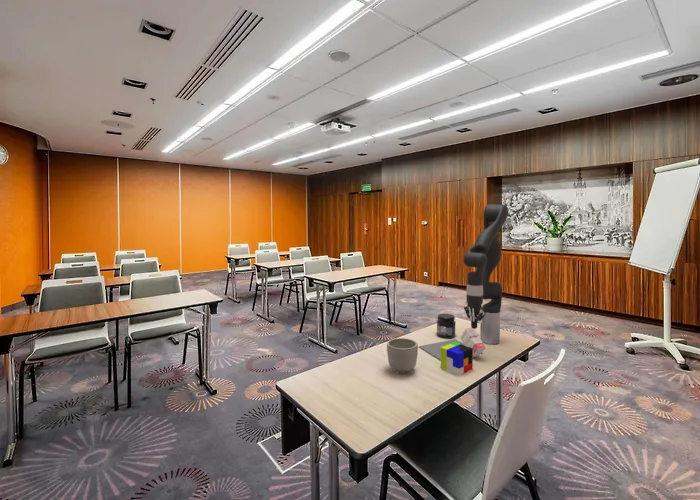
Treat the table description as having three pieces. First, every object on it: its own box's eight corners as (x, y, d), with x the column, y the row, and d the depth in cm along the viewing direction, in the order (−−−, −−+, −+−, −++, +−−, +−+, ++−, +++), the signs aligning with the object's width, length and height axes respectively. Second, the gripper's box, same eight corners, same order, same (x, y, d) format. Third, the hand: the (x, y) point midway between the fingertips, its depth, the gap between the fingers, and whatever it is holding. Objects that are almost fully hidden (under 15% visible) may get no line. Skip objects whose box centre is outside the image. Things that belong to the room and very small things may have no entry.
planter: (381, 367, 160) (381, 340, 159) (406, 361, 166) (406, 335, 165) (397, 380, 148) (397, 351, 146) (424, 373, 153) (424, 345, 152)
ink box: (486, 347, 164) (474, 326, 172) (477, 348, 163) (465, 327, 171) (478, 357, 170) (467, 336, 178) (470, 358, 168) (459, 337, 177)
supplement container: (451, 332, 205) (451, 312, 204) (458, 338, 195) (458, 318, 194) (434, 333, 205) (434, 313, 203) (440, 339, 194) (440, 318, 193)
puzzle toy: (458, 376, 151) (459, 354, 150) (440, 368, 159) (440, 347, 158) (472, 369, 156) (472, 348, 155) (454, 362, 165) (454, 342, 163)
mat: (418, 347, 184) (418, 346, 183) (455, 340, 192) (455, 339, 192) (443, 362, 164) (443, 361, 164) (482, 353, 173) (482, 352, 173)
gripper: (459, 291, 170) (458, 325, 172) (478, 297, 158) (477, 333, 160) (471, 289, 173) (470, 323, 175) (491, 295, 161) (490, 331, 163)
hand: (474, 328), depth 168 cm, fingers closed
